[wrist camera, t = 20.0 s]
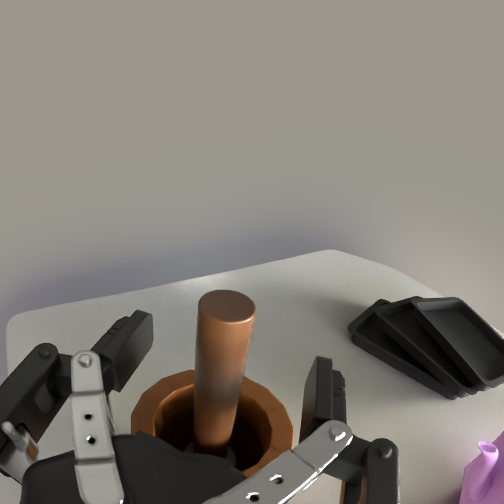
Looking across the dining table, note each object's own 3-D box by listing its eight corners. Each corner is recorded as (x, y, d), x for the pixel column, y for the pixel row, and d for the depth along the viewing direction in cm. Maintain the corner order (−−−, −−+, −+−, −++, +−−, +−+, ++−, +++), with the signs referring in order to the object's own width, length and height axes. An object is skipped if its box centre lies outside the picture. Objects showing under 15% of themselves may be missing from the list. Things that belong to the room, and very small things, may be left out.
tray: (328, 357, 35) (341, 324, 33) (373, 290, 53) (382, 266, 51) (512, 433, 21) (536, 406, 19) (502, 345, 39) (514, 323, 37)
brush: (212, 513, 15) (243, 352, 8) (175, 489, 17) (156, 303, 9) (236, 484, 18) (292, 302, 11) (201, 463, 19) (217, 270, 12)
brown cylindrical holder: (221, 552, 12) (238, 528, 8) (132, 491, 16) (98, 424, 12) (277, 480, 19) (317, 411, 15) (195, 433, 23) (198, 349, 18)
